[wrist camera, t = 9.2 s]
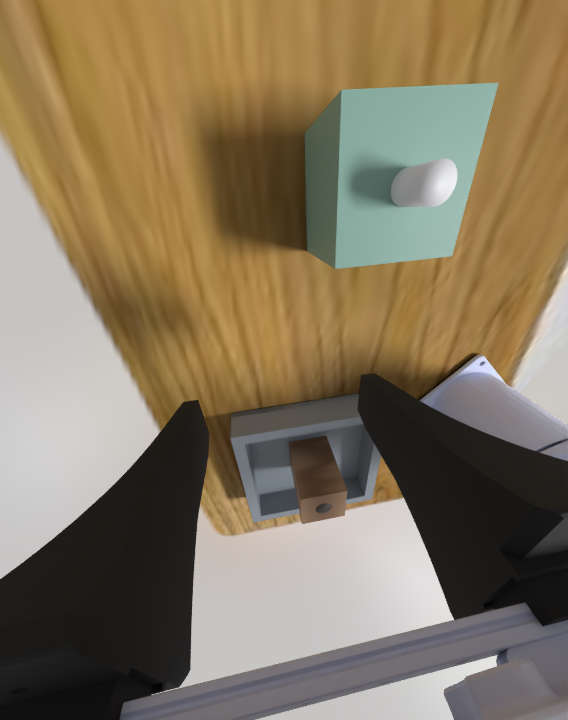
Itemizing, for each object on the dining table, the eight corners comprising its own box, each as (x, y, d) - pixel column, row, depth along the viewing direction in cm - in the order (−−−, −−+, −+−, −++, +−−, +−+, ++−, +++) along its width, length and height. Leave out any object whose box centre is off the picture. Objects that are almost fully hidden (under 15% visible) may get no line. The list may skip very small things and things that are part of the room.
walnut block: (326, 435, 26) (347, 491, 21) (325, 459, 28) (344, 516, 23) (288, 442, 26) (300, 500, 20) (290, 466, 28) (302, 524, 22)
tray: (374, 390, 24) (390, 411, 22) (361, 476, 32) (371, 499, 29) (231, 413, 23) (230, 438, 21) (252, 496, 31) (253, 522, 28)
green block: (406, 127, 14) (557, 54, 7) (390, 242, 17) (485, 263, 11) (304, 133, 14) (366, 60, 7) (306, 250, 17) (350, 279, 10)
